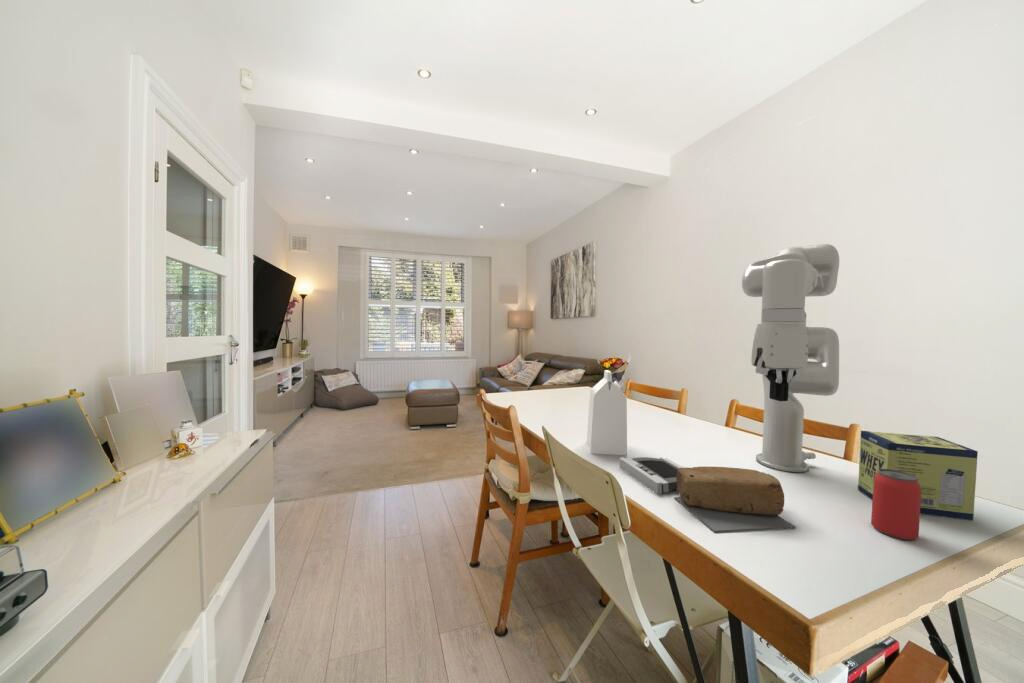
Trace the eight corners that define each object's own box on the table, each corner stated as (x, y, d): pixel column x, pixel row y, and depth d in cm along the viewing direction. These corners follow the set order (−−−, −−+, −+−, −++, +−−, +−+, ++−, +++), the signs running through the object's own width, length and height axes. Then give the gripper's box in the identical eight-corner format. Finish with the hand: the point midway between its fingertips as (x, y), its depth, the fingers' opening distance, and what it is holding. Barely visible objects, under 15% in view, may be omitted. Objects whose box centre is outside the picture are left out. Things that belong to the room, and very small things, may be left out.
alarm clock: (619, 457, 103) (667, 449, 107) (620, 473, 104) (668, 464, 108) (657, 483, 87) (712, 472, 91) (657, 501, 87) (713, 489, 91)
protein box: (855, 489, 91) (859, 429, 91) (935, 499, 87) (939, 436, 86) (883, 509, 82) (888, 442, 81) (975, 521, 77) (980, 450, 76)
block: (788, 485, 74) (684, 477, 79) (787, 521, 75) (683, 510, 79) (764, 465, 85) (673, 459, 89) (763, 496, 85) (673, 489, 90)
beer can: (861, 522, 76) (864, 467, 75) (893, 523, 75) (897, 467, 75) (893, 541, 69) (897, 480, 68) (929, 542, 69) (933, 481, 68)
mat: (743, 495, 87) (743, 494, 87) (795, 528, 73) (795, 526, 73) (674, 498, 85) (674, 497, 85) (714, 532, 71) (714, 530, 71)
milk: (586, 441, 127) (588, 368, 126) (619, 443, 126) (621, 369, 125) (590, 453, 115) (592, 373, 114) (627, 455, 114) (629, 374, 113)
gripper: (797, 317, 83) (793, 395, 84) (738, 317, 81) (735, 397, 83) (829, 317, 76) (824, 402, 77) (764, 317, 74) (761, 404, 75)
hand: (778, 399), depth 80 cm, fingers closed
